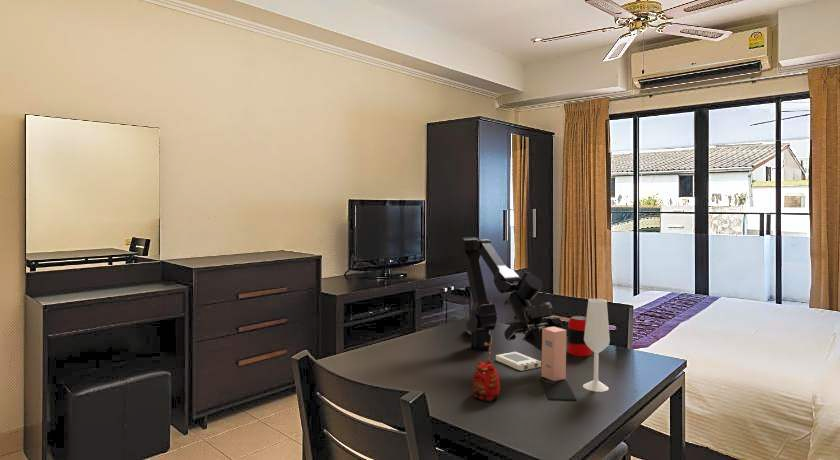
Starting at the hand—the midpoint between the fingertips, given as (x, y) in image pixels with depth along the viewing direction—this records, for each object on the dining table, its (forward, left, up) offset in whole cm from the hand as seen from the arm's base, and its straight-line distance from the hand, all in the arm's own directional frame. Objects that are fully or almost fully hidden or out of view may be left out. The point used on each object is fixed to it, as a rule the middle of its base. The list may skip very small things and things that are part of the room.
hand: (547, 353), depth 150 cm
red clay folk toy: (-15, -21, -7) cm, 27 cm away
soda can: (+10, +26, -7) cm, 28 cm away
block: (+2, -2, -7) cm, 7 cm away
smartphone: (+3, -11, -7) cm, 14 cm away
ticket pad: (-9, +9, -7) cm, 15 cm away
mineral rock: (-26, +41, -7) cm, 49 cm away
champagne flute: (+13, -6, -7) cm, 16 cm away
